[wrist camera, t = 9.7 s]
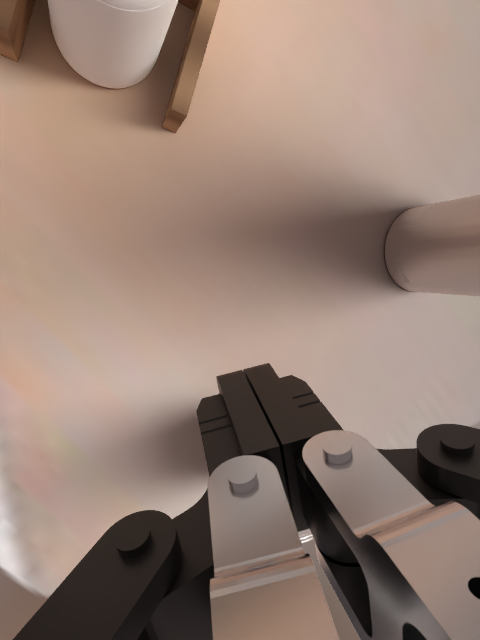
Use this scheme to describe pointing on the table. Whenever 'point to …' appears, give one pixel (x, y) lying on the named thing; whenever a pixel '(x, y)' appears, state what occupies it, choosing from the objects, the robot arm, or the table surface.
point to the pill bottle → (111, 37)
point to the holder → (13, 18)
